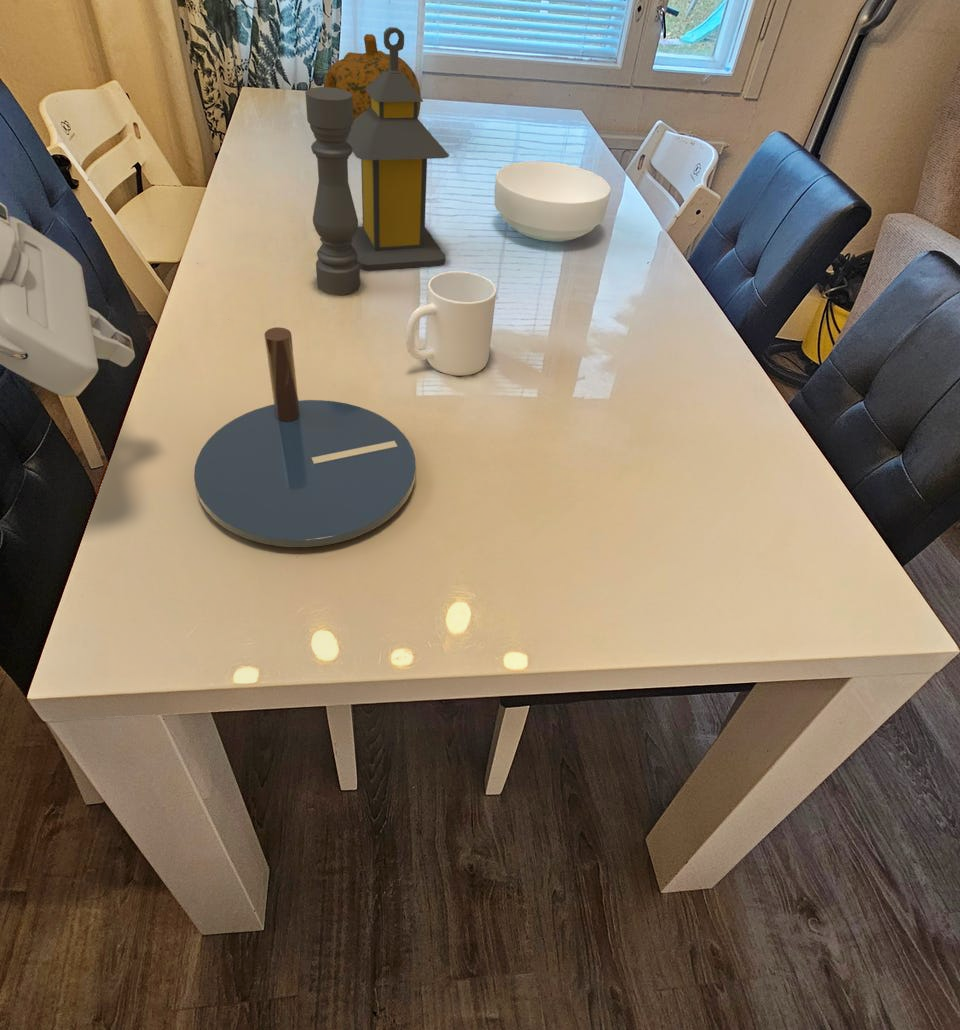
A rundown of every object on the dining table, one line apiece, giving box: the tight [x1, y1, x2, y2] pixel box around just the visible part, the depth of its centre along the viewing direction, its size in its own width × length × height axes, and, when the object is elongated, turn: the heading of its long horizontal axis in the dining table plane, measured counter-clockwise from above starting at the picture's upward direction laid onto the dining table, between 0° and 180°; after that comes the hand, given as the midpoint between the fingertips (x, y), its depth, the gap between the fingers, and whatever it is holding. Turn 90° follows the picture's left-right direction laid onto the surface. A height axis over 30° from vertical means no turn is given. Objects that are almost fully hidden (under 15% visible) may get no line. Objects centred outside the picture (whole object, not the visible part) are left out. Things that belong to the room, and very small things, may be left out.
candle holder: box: [304, 86, 361, 296], centre depth 95 cm, size 6×6×25 cm
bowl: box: [493, 160, 612, 243], centre depth 122 cm, size 20×20×8 cm
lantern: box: [347, 26, 450, 272], centre depth 104 cm, size 14×14×30 cm
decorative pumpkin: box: [323, 33, 422, 120], centre depth 145 cm, size 20×21×20 cm
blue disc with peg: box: [193, 326, 417, 548], centre depth 69 cm, size 22×22×11 cm
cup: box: [405, 270, 497, 377], centre depth 88 cm, size 8×12×10 cm
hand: (129, 353), depth 66 cm, fingers closed
